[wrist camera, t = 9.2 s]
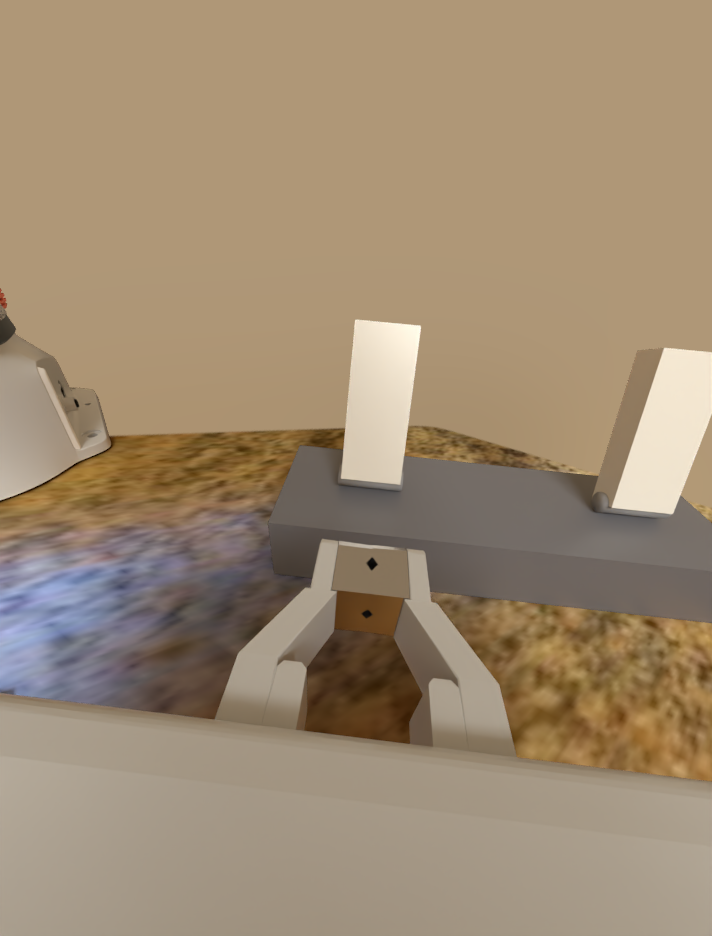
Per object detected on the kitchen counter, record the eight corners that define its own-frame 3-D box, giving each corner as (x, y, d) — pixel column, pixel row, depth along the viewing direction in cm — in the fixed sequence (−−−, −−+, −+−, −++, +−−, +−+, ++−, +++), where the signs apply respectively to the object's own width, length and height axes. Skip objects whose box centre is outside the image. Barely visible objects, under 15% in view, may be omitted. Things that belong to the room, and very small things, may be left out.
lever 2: (672, 524, 22) (738, 354, 19) (605, 517, 22) (660, 347, 19) (647, 512, 24) (704, 356, 21) (586, 505, 24) (634, 350, 21)
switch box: (712, 622, 22) (774, 575, 19) (274, 573, 23) (267, 520, 20) (632, 526, 30) (668, 481, 27) (301, 491, 30) (299, 443, 27)
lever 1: (401, 495, 22) (424, 326, 20) (337, 488, 22) (352, 319, 20) (399, 487, 24) (419, 332, 22) (339, 480, 24) (353, 326, 22)
